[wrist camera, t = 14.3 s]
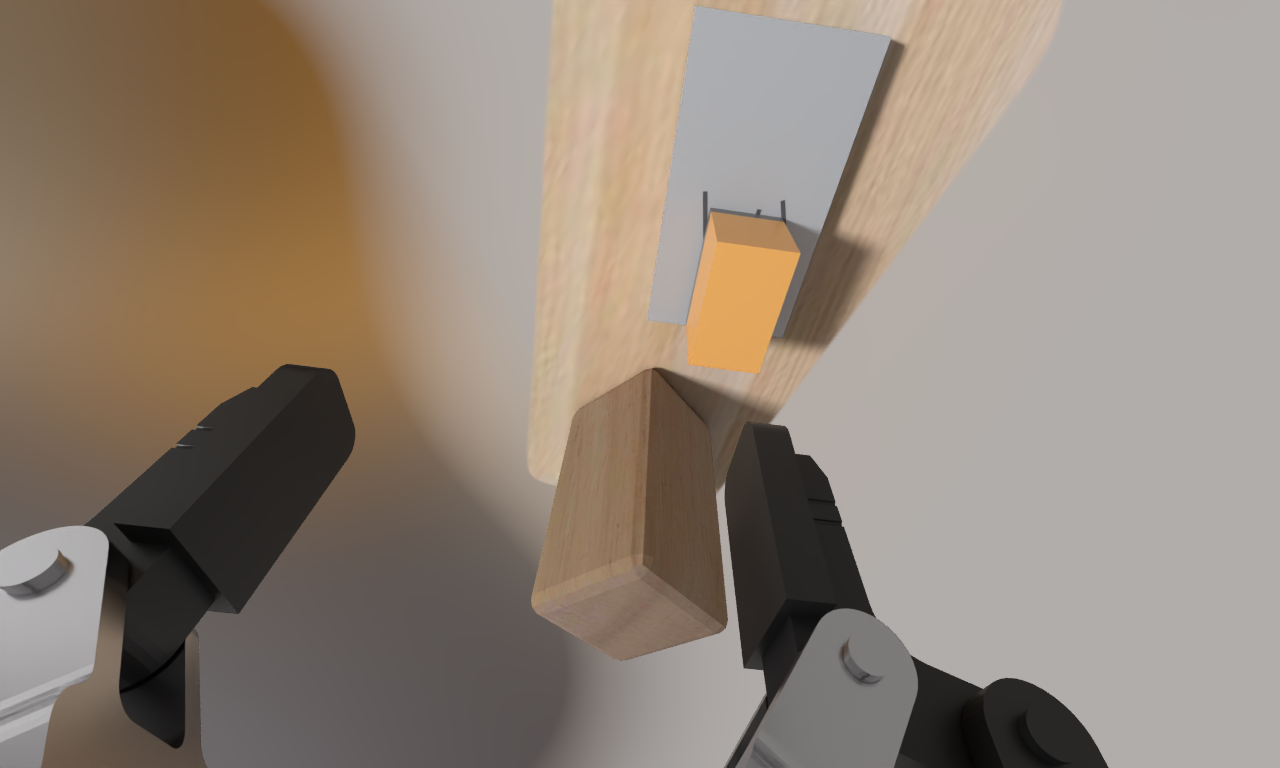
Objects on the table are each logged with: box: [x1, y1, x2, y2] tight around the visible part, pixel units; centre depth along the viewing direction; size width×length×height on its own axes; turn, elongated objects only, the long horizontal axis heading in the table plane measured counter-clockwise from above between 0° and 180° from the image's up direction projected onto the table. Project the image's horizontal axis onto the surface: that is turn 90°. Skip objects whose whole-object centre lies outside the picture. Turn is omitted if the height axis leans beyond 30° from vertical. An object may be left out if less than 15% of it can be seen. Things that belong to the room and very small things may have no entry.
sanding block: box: [686, 208, 801, 374], centre depth 34 cm, size 9×5×6 cm, turn 173°
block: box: [531, 369, 728, 660], centre depth 40 cm, size 10×10×20 cm
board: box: [648, 6, 892, 338], centre depth 33 cm, size 20×11×2 cm, turn 173°
